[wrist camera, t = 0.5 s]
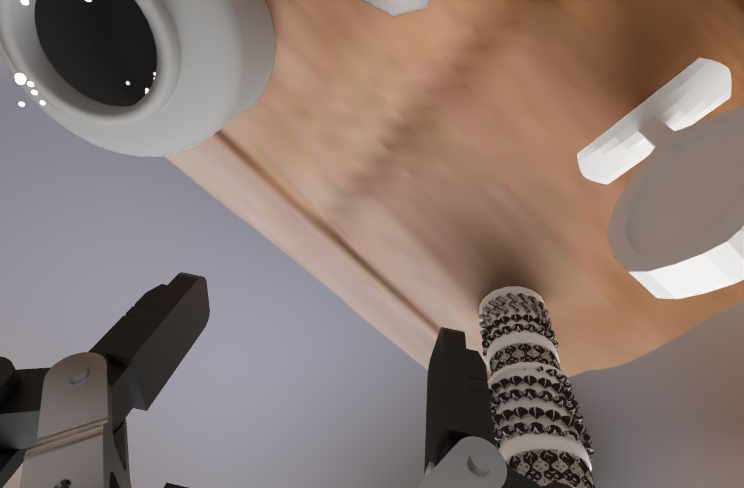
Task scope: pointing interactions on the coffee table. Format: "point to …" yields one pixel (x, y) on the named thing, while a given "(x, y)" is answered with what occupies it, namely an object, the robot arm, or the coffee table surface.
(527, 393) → the decorative candle
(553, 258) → the coffee table surface
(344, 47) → the coffee table surface
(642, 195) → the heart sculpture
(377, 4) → the flask
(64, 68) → the jar
